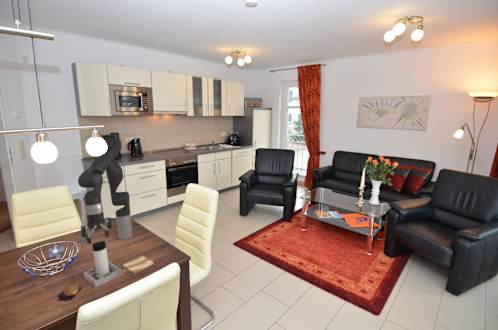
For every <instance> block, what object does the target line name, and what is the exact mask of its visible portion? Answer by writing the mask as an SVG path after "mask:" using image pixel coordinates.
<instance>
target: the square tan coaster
mask: <svg viewBox="0 0 498 330" xmlns="http://www.w3.org/2000/svg"><path fill="white" fill-rule="evenodd" d="M151 265H154V262H153V260H150V259H148V258H147V257H145V256H144V255H139V256H138V257H137V256H136V258H134V259H130V260H129V261H127V262H126V263H123V264H122V267H123V268H124V269H126V270H127V271H129V272H130V273H132V274H133V275H135V274H137V273H139V272H140V271H142V270H144V269H146V268H148V267H150V266H151Z"/></svg>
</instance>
